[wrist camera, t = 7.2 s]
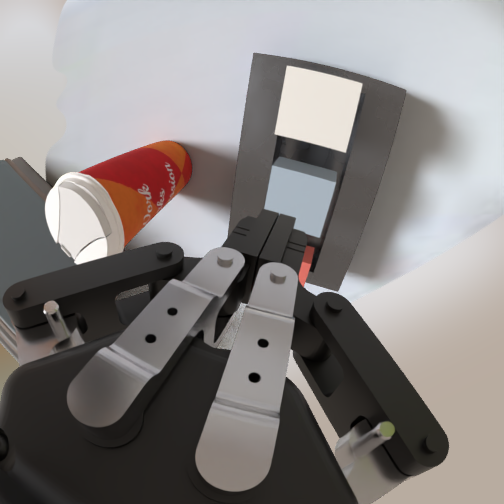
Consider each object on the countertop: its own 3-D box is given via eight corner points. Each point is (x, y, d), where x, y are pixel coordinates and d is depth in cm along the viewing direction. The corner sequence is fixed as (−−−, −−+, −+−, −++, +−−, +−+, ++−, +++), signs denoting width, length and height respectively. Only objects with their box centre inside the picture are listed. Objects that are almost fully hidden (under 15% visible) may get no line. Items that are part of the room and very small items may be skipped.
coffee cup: (176, 212, 35) (95, 290, 23) (129, 166, 33) (35, 225, 21) (217, 164, 30) (129, 235, 18) (163, 114, 28) (53, 155, 16)
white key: (299, 68, 19) (286, 65, 15) (358, 83, 18) (362, 83, 14) (288, 122, 22) (274, 134, 17) (345, 137, 21) (345, 152, 17)
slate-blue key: (285, 148, 24) (272, 165, 20) (337, 162, 23) (336, 182, 19) (276, 195, 27) (261, 221, 23) (324, 209, 26) (319, 237, 22)
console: (265, 56, 23) (253, 52, 19) (397, 88, 21) (406, 90, 18) (237, 238, 34) (225, 258, 31) (339, 268, 32) (338, 291, 29)
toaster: (130, 328, 53) (71, 410, 36) (15, 223, 48) (-52, 276, 32) (161, 274, 41) (75, 385, 25) (19, 149, 37) (-73, 203, 21)
